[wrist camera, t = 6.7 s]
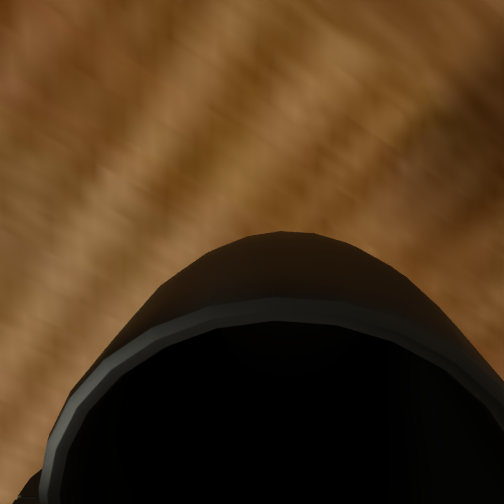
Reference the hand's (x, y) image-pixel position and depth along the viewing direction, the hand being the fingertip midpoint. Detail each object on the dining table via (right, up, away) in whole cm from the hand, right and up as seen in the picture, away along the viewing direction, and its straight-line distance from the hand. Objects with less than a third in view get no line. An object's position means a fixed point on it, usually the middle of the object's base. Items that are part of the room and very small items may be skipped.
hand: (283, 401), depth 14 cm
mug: (0, +1, +3) cm, 3 cm away
